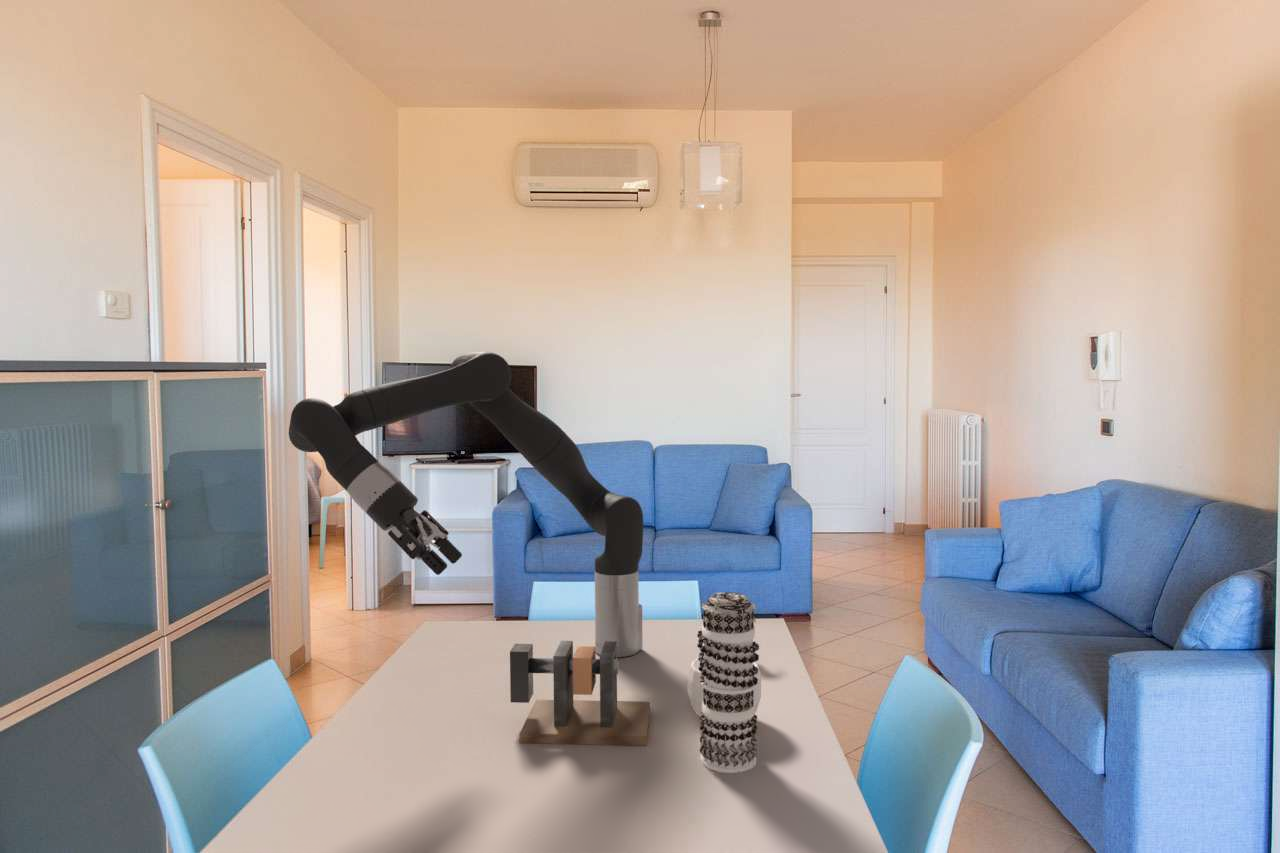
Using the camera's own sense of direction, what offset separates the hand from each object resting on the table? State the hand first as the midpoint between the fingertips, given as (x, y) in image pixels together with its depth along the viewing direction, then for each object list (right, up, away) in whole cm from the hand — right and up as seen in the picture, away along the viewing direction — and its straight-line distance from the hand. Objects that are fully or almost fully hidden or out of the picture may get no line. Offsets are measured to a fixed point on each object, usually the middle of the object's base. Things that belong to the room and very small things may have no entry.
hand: (450, 565), depth 138 cm
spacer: (+22, -20, 0) cm, 30 cm away
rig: (+23, -27, 0) cm, 35 cm away
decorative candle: (+45, -27, -13) cm, 54 cm away
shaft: (+19, -22, 0) cm, 29 cm away
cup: (+45, -27, +2) cm, 53 cm away
